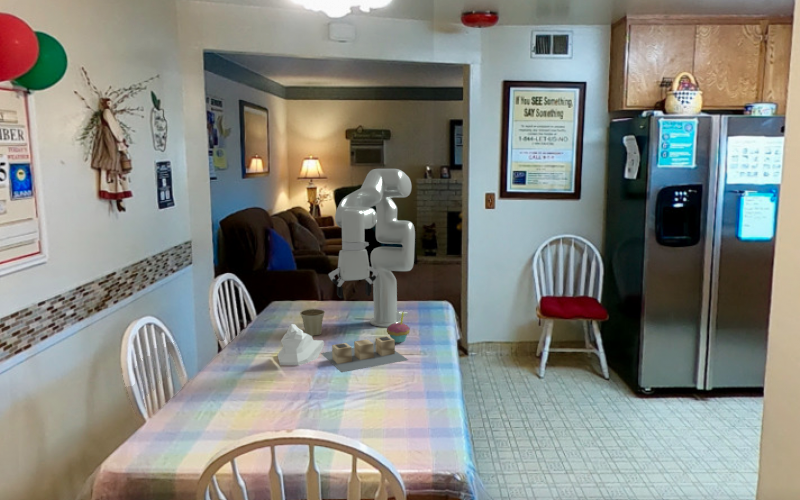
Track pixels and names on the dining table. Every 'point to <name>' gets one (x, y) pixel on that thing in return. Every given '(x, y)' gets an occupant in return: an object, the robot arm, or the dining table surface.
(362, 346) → the plain block
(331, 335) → the dining table surface
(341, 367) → the mat
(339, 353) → the digit block
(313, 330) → the flower pot
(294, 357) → the white faceted lump
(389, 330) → the cupcake
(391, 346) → the digit block
